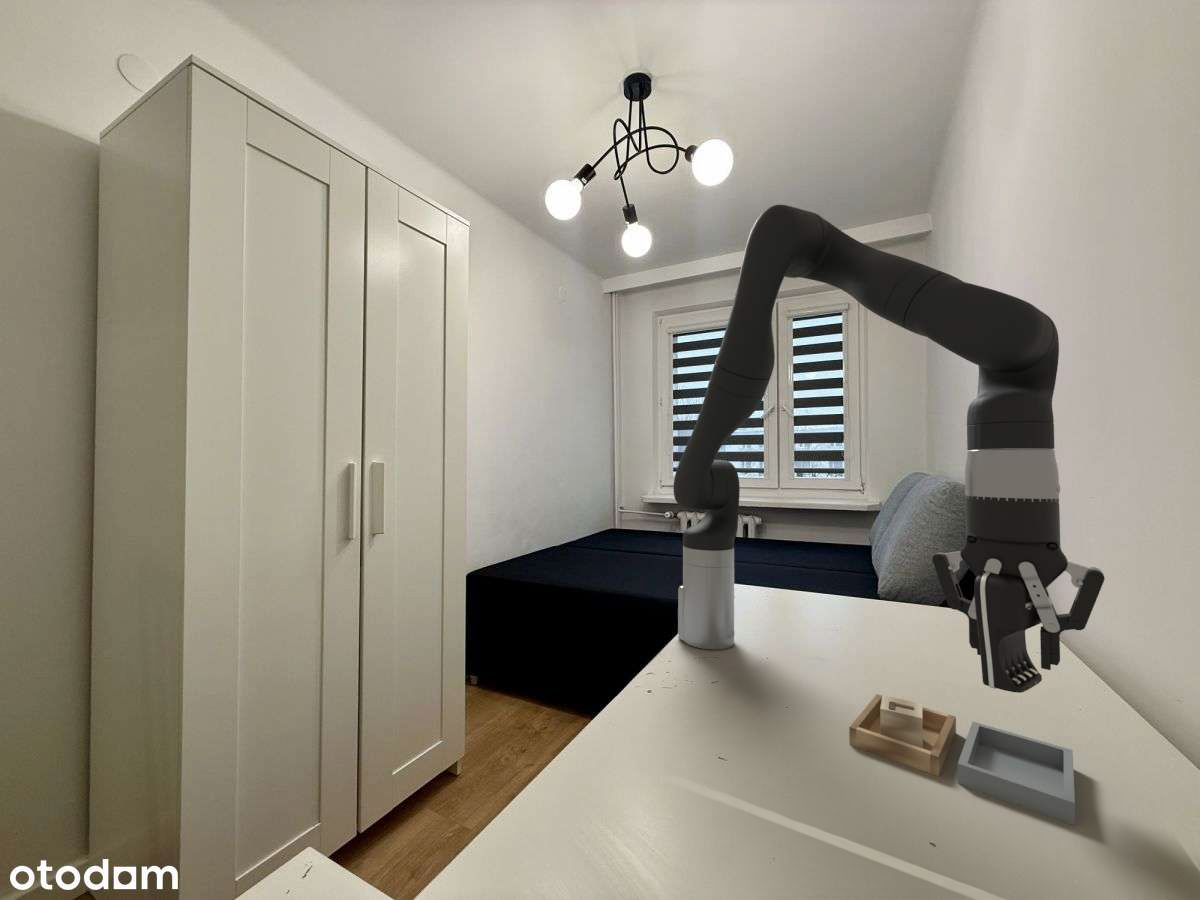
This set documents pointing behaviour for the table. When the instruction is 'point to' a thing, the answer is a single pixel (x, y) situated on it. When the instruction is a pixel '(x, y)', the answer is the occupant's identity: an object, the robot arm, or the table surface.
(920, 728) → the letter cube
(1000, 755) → the slate tray
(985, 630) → the black battery charger
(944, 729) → the oak tray
